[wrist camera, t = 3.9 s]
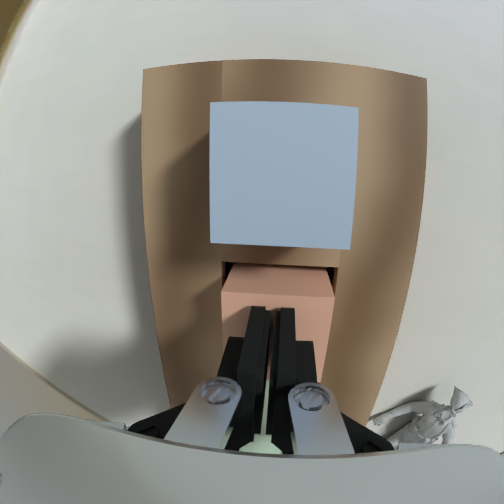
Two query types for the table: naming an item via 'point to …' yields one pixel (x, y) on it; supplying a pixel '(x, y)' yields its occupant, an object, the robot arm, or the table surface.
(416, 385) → the table surface
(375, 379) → the board
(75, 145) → the table surface
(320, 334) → the salmon pink rectangular block
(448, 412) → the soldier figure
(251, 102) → the light blue block
